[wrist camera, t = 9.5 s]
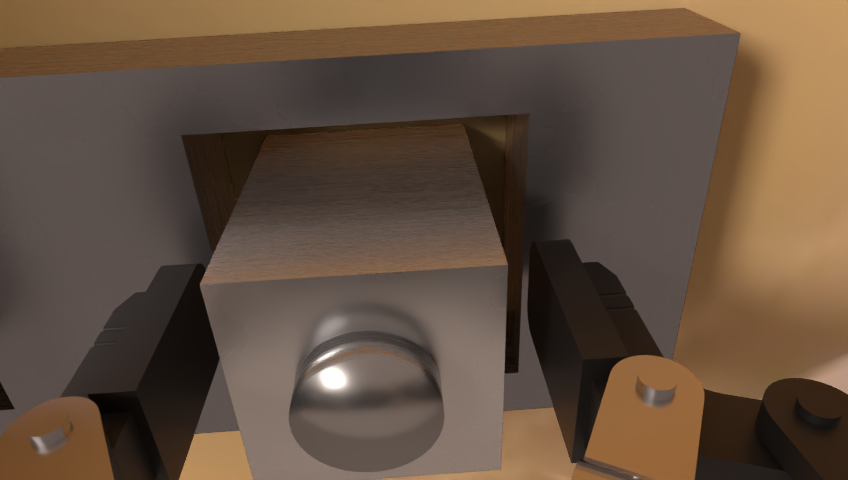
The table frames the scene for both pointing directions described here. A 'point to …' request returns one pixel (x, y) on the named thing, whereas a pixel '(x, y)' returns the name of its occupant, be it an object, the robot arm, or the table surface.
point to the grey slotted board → (347, 105)
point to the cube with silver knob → (363, 307)
